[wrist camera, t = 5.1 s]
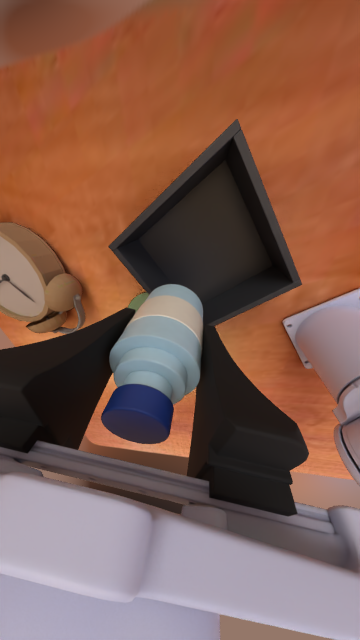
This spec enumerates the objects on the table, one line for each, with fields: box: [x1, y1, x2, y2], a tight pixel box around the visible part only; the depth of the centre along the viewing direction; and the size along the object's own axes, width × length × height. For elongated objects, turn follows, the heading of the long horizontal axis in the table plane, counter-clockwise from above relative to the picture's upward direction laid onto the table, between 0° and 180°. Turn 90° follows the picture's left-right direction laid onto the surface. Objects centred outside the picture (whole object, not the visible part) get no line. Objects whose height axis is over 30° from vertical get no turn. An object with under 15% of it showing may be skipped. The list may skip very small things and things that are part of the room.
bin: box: [109, 119, 302, 329], centre depth 15 cm, size 11×11×5 cm
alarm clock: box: [0, 223, 85, 334], centre depth 21 cm, size 11×5×15 cm
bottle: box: [101, 284, 203, 444], centre depth 10 cm, size 5×5×9 cm
